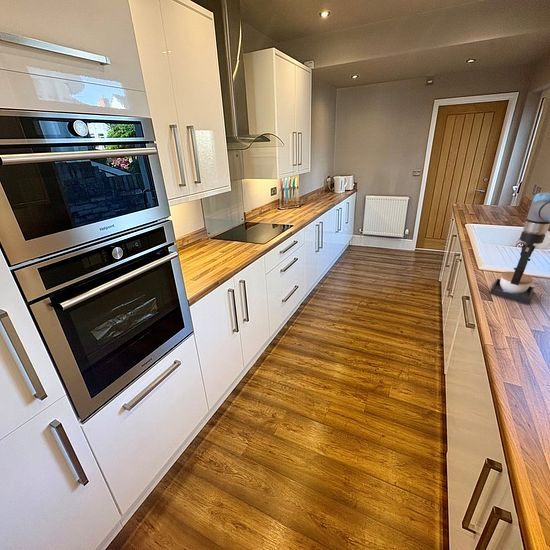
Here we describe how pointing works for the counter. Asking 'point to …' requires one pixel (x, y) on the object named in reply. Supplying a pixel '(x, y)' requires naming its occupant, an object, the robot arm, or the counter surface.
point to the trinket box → (513, 288)
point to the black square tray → (521, 297)
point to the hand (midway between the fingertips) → (516, 279)
